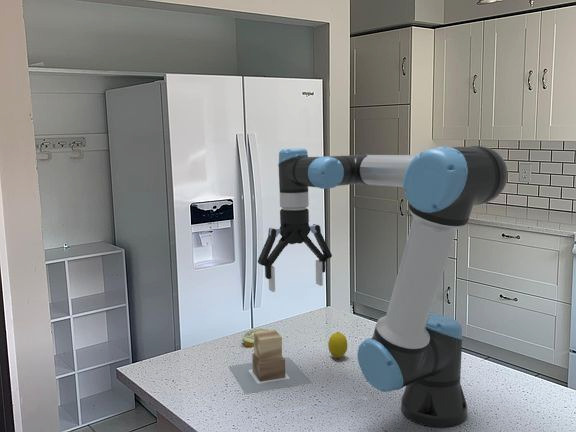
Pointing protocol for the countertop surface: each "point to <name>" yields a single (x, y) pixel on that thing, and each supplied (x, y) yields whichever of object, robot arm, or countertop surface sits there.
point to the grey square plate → (253, 384)
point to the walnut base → (268, 368)
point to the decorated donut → (251, 337)
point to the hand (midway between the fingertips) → (296, 287)
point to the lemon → (337, 344)
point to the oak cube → (267, 345)
